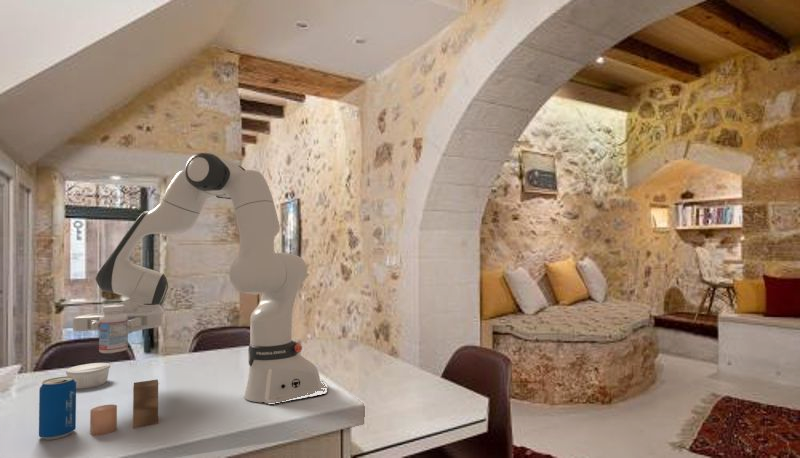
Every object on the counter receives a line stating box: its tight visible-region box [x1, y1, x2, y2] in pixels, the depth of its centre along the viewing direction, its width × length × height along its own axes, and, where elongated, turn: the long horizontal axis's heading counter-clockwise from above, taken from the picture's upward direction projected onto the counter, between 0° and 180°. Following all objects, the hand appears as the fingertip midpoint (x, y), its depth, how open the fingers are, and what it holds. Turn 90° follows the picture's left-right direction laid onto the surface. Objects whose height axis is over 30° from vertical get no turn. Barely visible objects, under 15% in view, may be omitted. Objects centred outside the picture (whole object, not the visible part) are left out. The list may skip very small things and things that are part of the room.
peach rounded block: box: [89, 403, 118, 436], centre depth 102 cm, size 5×5×5 cm
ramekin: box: [65, 362, 111, 390], centre depth 138 cm, size 11×11×5 cm
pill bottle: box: [98, 304, 129, 354], centre depth 113 cm, size 6×6×11 cm
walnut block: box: [132, 379, 159, 429], centre depth 106 cm, size 5×5×9 cm
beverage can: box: [38, 375, 77, 441], centre depth 100 cm, size 6×6×12 cm
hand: (112, 325), depth 113 cm, fingers closed on pill bottle, 6 cm apart
